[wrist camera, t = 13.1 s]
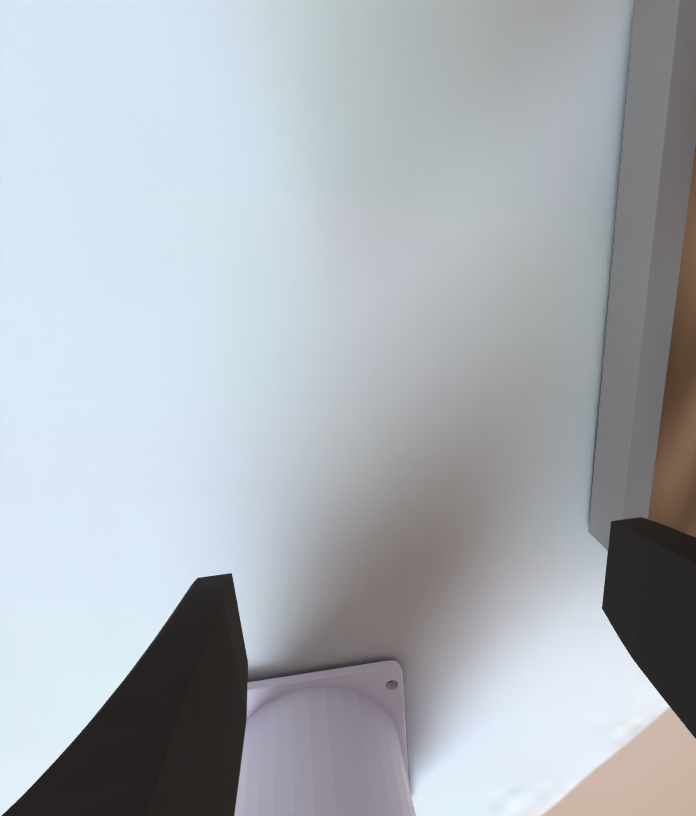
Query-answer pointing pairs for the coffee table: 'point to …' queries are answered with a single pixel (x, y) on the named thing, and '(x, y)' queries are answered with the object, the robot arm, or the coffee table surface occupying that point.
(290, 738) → the robot arm
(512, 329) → the coffee table surface
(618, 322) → the block
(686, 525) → the brown wooden bar
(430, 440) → the coffee table surface
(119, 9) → the coffee table surface
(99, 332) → the coffee table surface
